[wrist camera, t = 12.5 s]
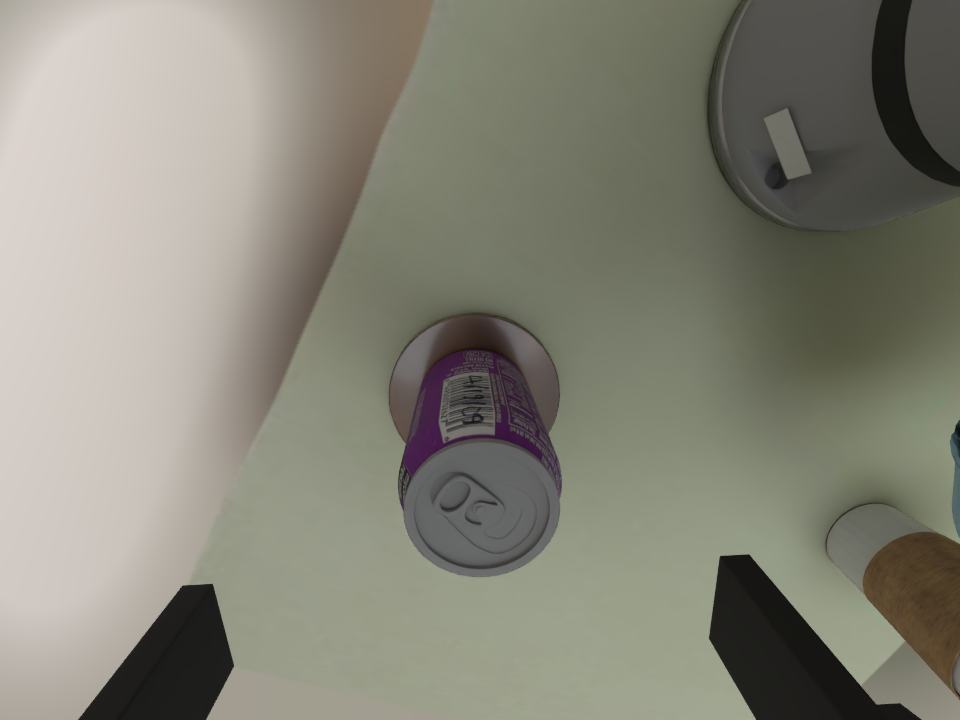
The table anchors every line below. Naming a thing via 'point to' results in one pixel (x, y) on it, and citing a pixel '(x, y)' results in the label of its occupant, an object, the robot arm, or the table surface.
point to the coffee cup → (905, 580)
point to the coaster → (472, 336)
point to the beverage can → (478, 468)
